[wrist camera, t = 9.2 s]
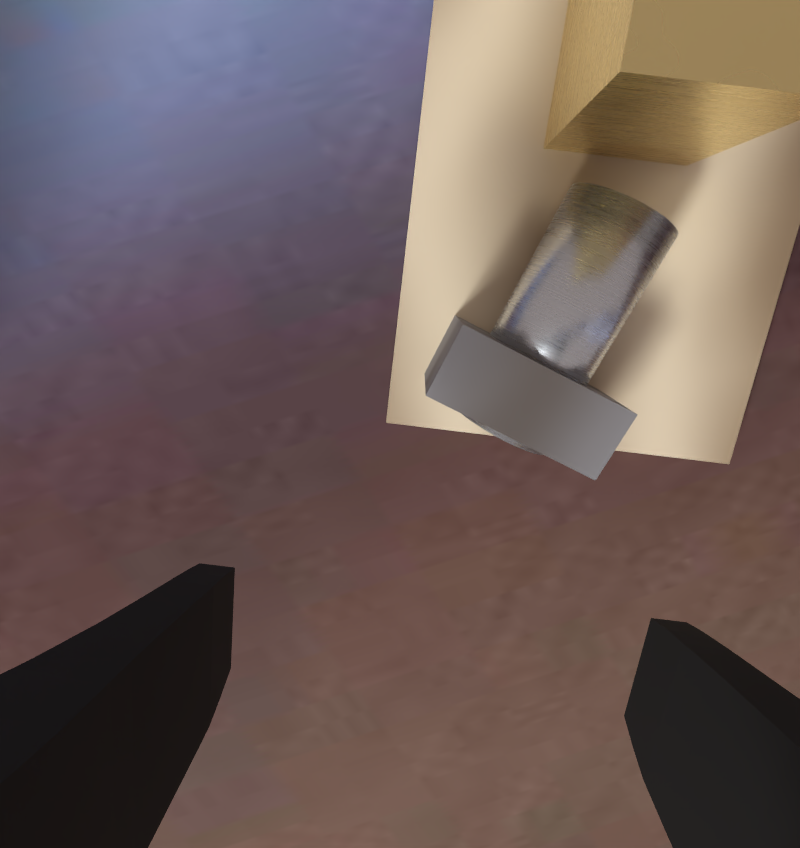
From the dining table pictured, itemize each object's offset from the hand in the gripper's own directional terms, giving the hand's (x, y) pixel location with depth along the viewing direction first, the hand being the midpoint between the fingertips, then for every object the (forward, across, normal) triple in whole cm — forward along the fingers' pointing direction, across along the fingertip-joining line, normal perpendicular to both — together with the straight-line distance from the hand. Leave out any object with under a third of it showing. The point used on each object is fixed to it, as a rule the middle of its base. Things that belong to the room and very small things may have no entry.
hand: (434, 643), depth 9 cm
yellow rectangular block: (+9, -4, -12) cm, 15 cm away
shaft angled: (+9, -3, -5) cm, 11 cm away
